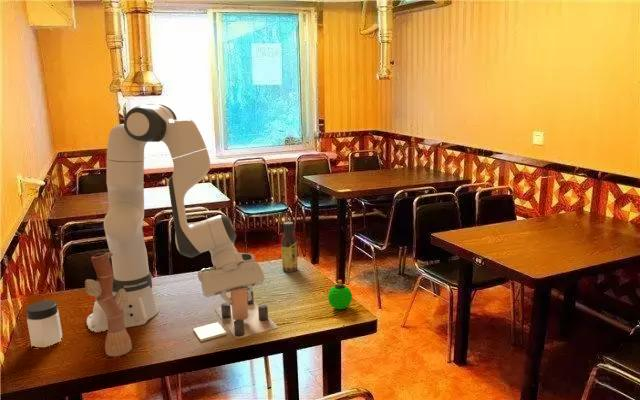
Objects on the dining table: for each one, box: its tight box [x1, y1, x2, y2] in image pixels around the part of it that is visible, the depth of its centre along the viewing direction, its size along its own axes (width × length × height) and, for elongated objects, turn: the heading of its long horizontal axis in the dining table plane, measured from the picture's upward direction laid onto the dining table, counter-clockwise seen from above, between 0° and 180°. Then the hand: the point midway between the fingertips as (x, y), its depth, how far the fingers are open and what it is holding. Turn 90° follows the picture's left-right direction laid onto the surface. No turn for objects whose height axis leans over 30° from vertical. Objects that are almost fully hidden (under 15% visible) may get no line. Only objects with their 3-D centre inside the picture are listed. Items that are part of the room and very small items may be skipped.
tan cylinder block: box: [230, 288, 248, 320], centre depth 162 cm, size 5×5×9 cm
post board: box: [214, 290, 279, 340], centre depth 167 cm, size 14×24×5 cm, turn 27°
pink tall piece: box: [84, 251, 133, 357], centre depth 146 cm, size 10×7×30 cm
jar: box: [26, 300, 63, 347], centre depth 154 cm, size 9×8×12 cm
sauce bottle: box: [281, 221, 298, 273], centre depth 207 cm, size 7×6×20 cm
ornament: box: [327, 279, 353, 310], centre depth 171 cm, size 8×8×10 cm
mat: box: [192, 321, 227, 342], centre depth 158 cm, size 8×8×1 cm
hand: (240, 302), depth 161 cm, fingers closed on tan cylinder block, 5 cm apart
